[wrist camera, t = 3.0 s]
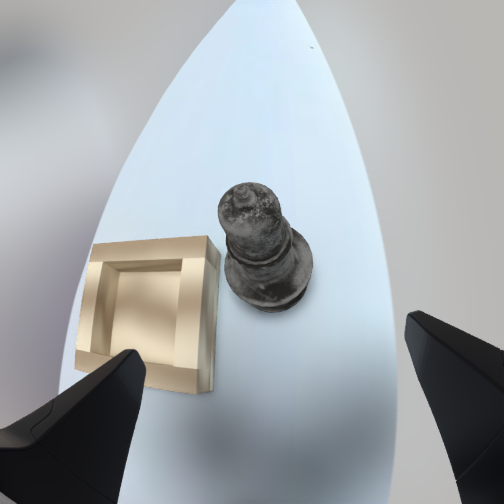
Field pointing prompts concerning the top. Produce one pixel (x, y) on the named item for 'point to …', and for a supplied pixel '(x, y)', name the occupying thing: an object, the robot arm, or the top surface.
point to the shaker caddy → (153, 309)
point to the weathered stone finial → (263, 249)
